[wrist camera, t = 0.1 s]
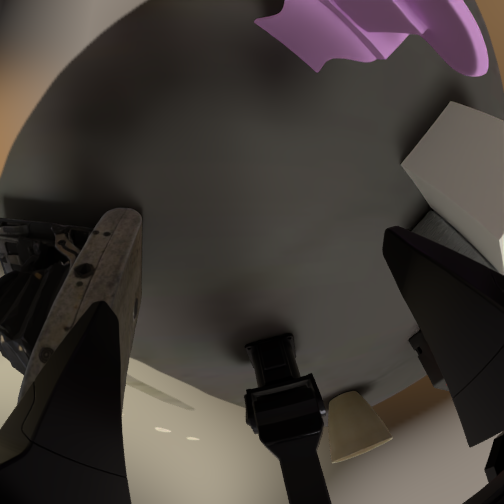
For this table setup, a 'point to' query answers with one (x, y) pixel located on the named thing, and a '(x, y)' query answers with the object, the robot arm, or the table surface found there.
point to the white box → (464, 176)
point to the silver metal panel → (448, 237)
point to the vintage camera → (66, 284)
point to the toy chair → (378, 30)
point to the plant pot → (354, 427)
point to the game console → (428, 360)
